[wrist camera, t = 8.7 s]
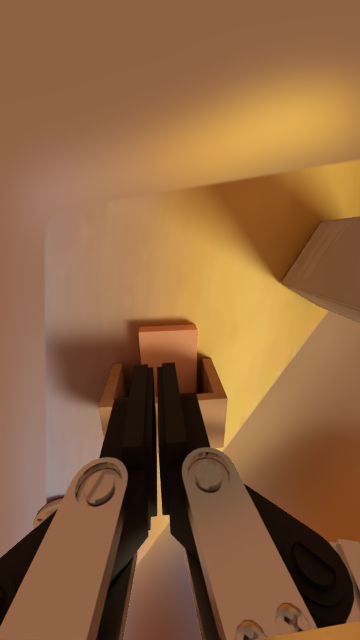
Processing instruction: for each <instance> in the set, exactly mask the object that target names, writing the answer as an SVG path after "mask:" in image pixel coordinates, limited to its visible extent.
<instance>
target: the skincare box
mask: <svg viewBox="0 0 360 640" xmlns="http://www.w3.org/2000/svg"><path fill="white" fill-rule="evenodd" d="M281 284H282V285H284V286H285V287H287V288H289V289H290V290H292V291H294V292H296V293H297V294H299V295H301V296H302V297H304V298H306V299H307V300H309V301H310V302H312V303H314V304H316V305H317V306H319V307H321V308H324V309H326V310H329V311H331V312H334V313H336V314H338V315H341V316H343V317H346V318H348V319H351V320H353V321H356V322H358V323H360V217H352V218H345V219H337V220H330V221H322V222H321V223H320V224H319V226H318V227H317V229H316V230H315V232H314V233H313V235H312V236H311V238H310V239H309V241H308V242H307V244H306V246H305V247H304V249H303V250H302V252H301V253H300V255H299V256H298V258H297V259H296V261H295V262H294V264H293V265H292V267H291V268H290V270H289V271H288V273H287V274H286V276H285V277H284V279H283V281H282V282H281Z"/></svg>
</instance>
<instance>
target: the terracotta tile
mask: <svg viewBox="0 0 360 640" xmlns="http://www.w3.org/2000/svg"><path fill="white" fill-rule="evenodd" d="M138 333H139V345H140V356H141V364H148V367H153V374H154V390H155V397H158V396H157V367H162V363H171V362H175V367H176V373H177V380H178V386H179V392H180V394H181V393H194V392H195V393H196V374H197V328H196V325H195V324H187V325H165V326H143V327H139V332H138Z"/></svg>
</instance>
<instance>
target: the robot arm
mask: <svg viewBox="0 0 360 640" xmlns="http://www.w3.org/2000/svg"><path fill="white" fill-rule="evenodd" d="M157 396H158V448H159V465H160V481H161V497H162V513H163V515H169V514H170V530H171V534H172V535H173V536H174V537H175V538H176V539H177V540H178V541H179V542H180V543H181V544H182V545H183V549H184V556H185V561H186V566H187V571H188V575H189V580H190V585H191V590H192V594H193V599H194V604H195V609H196V613H197V618H198V623H199V628H200V632H201V637H202V640H360V542H356V541H350V540H343V539H338V541H337V543H333V542H327V541H326V540H325V539H324V538H323V537H321V536H320V535H319V534H318V533H316V532H315V531H313V530H312V529H310V528H309V527H307V526H306V525H304V524H303V523H301V522H300V521H298V520H297V519H295V518H294V517H292V516H291V515H290V514H288V513H287V512H285V511H283V510H282V509H281V508H279V507H278V506H276V505H275V504H273V503H272V502H270V501H269V500H267V499H266V498H264V497H263V496H261V495H260V494H258V493H257V492H255V491H254V490H253V489H251V488H250V487H248V486H247V485H245V484H243V482H242V480H241V478H240V476H239V474H238V472H237V470H236V468H235V466H234V464H233V463H232V461H231V460H230V458H229V457H228V456H227V455H225V454H224V453H223V452H221V451H219V450H217V449H214V448H211V447H210V444H209V440H208V436H207V432H206V428H205V425H204V421H203V417H202V413H201V409H200V406H199V402H198V398H197V395H196V393H195V392H194V393H181V394H180V392H179V386H178V380H177V373H176V367H175V362H171V363H162V367H157ZM154 516H157V424H156V406H155V390H154V374H153V367H148V364H140V365H134V371H133V377H132V383H131V390H130V396H129V398H116V399H115V400H114V403H113V406H112V410H111V414H110V418H109V422H108V426H107V430H106V434H105V438H104V442H103V446H102V450H101V454H100V458H99V459H96V460H94V461H91V462H90V463H88V464H87V465H85V466H84V467H83V468H82V469H81V470H80V471H79V472H78V473H77V474H76V475H75V477H74V478H73V480H72V482H71V484H70V486H69V488H68V490H67V492H66V494H65V496H64V498H61V499H57V500H54V501H52V502H50V503H48V504H46V505H45V506H43V507H42V508H41V509H40V510H39V511H38V513H37V516H36V518H35V521H34V530H32V531H31V532H30V533H29V534H28V535H27V536H26V537H24V538H23V539H22V540H21V541H20V542H18V543H17V544H16V545H15V546H14V547H13V548H12V549H10V550H9V551H8V552H7V553H6V554H5V555H3V556H2V557H1V558H0V640H123V638H124V632H125V626H126V620H127V614H128V609H129V603H130V597H131V591H132V585H133V578H134V573H135V567H136V561H137V550H138V549H139V548H140V546H141V545H142V544H143V543H144V541H145V540H146V539H147V537H148V530H150V526H151V517H154Z"/></svg>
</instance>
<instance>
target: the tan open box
mask: <svg viewBox="0 0 360 640" xmlns="http://www.w3.org/2000/svg"><path fill="white" fill-rule="evenodd" d="M196 395H197V398H198V402H199V406H200V409H201V413H202V417H203V421H204V425H205V428H206V432H207V436H208V440H209V444H210V447H211V448H221V447H223V446H224V434H225V422H226V410H227V396H226V394H225V391H224V389H223V386H222V384H221V382H220V379H219V377H218V374H217V372H216V369H215V367H214V365H213V362H212V360H211V358H202V376H201V394H196ZM116 398H127V396H126V388H125V379H124V371H123V363H114V364H113V366H112V369H111V372H110V375H109V378H108V381H107V384H106V387H105V390H104V393H103V396H102V399H101V402H100V405H99V413H100V419H101V424H102V430H103V435H104V438H105V434H106V430H107V426H108V422H109V418H110V414H111V410H112V406H113V403H114V400H115V399H116ZM155 406H156V424H157V453H159V448H158V397H155Z"/></svg>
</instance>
